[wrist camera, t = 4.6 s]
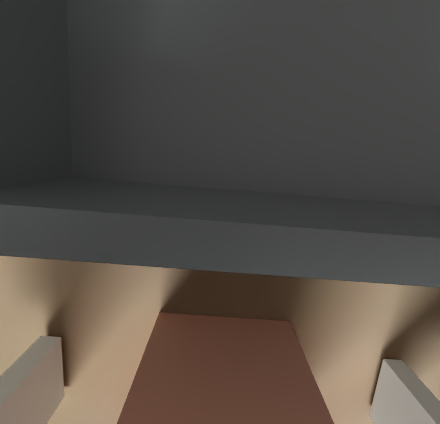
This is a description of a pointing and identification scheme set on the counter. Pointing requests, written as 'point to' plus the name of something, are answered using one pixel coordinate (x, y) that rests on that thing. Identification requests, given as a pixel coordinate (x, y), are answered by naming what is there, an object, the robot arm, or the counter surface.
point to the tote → (224, 135)
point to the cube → (223, 374)
